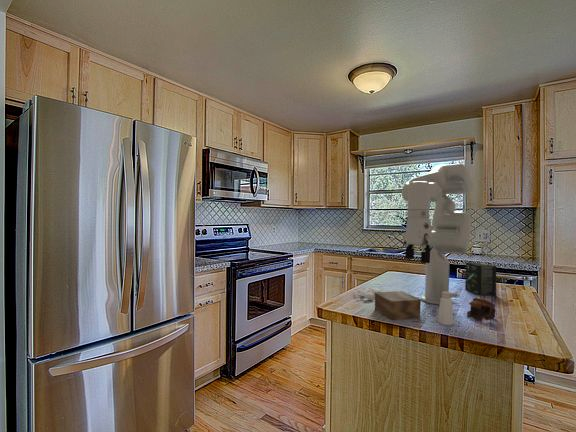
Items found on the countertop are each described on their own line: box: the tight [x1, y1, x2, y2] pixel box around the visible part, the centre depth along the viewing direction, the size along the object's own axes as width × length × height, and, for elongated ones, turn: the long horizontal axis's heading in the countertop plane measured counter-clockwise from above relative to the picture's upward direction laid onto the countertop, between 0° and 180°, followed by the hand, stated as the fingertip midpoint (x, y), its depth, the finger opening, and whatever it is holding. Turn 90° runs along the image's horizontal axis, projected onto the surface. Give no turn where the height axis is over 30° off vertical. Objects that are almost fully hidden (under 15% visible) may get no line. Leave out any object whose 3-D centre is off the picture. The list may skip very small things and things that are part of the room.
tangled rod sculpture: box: [354, 287, 384, 301], centre depth 145 cm, size 19×14×4 cm
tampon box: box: [464, 261, 497, 296], centre depth 155 cm, size 11×9×15 cm
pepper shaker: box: [437, 291, 455, 326], centre depth 110 cm, size 5×5×11 cm
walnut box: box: [374, 290, 422, 321], centre depth 119 cm, size 12×12×7 cm
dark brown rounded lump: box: [466, 297, 496, 322], centre depth 116 cm, size 12×10×8 cm
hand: (417, 260), depth 114 cm, fingers open, 9 cm apart
